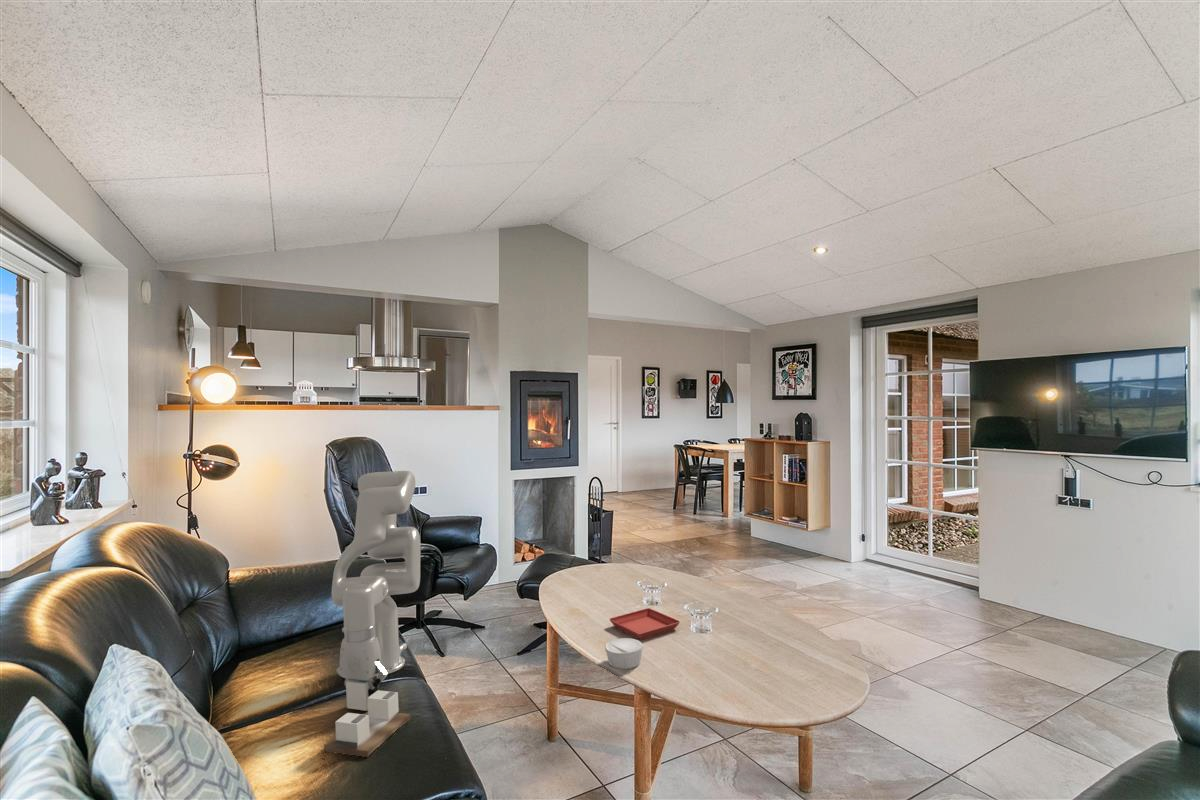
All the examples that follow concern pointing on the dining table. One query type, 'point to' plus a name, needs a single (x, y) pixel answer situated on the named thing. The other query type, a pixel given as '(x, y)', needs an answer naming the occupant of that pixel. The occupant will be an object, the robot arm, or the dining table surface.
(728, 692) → the dining table surface
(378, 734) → the board
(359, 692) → the block
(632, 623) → the plant saucer
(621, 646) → the ramekin
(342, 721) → the mounted modules
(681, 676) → the dining table surface
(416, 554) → the robot arm
